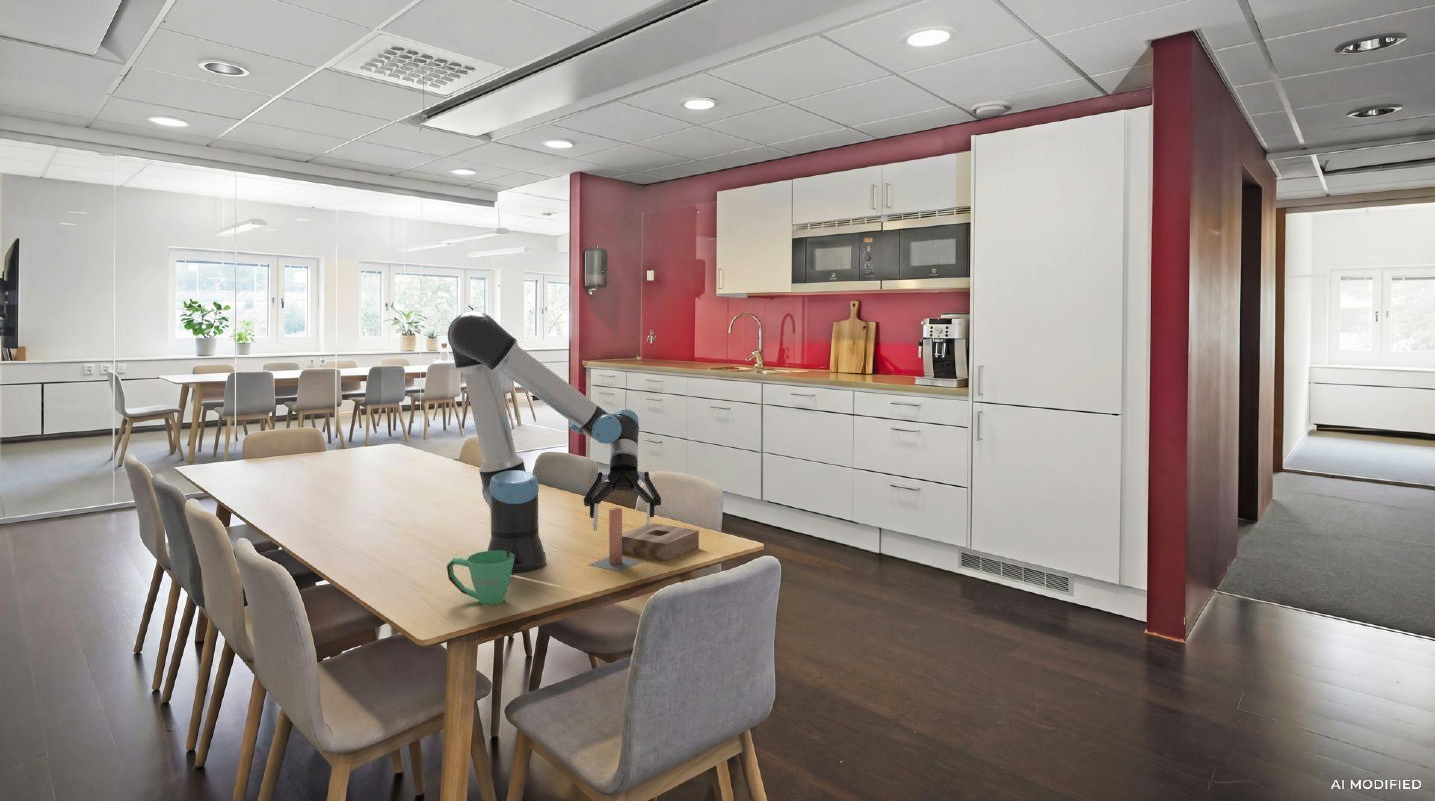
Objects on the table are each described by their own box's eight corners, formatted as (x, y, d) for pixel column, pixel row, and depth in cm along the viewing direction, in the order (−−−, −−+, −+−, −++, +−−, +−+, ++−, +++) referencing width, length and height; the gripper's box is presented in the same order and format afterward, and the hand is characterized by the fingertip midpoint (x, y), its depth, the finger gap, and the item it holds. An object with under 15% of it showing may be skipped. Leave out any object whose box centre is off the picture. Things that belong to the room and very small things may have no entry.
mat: (587, 566, 188) (587, 564, 188) (612, 556, 197) (612, 555, 197) (619, 573, 183) (619, 571, 183) (643, 563, 192) (643, 561, 192)
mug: (520, 593, 168) (519, 550, 167) (507, 609, 159) (506, 563, 158) (455, 593, 168) (454, 549, 168) (439, 608, 159) (438, 563, 158)
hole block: (616, 553, 200) (616, 535, 199) (651, 539, 214) (651, 522, 213) (665, 563, 192) (665, 544, 191) (698, 548, 205) (698, 530, 205)
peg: (606, 563, 189) (606, 509, 188) (614, 560, 192) (614, 507, 191) (616, 565, 188) (616, 511, 186) (624, 562, 190) (624, 508, 189)
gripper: (669, 466, 209) (670, 534, 195) (579, 467, 207) (573, 535, 193) (669, 451, 203) (670, 519, 189) (577, 452, 201) (571, 520, 187)
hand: (621, 527), depth 191 cm, fingers open, 13 cm apart
